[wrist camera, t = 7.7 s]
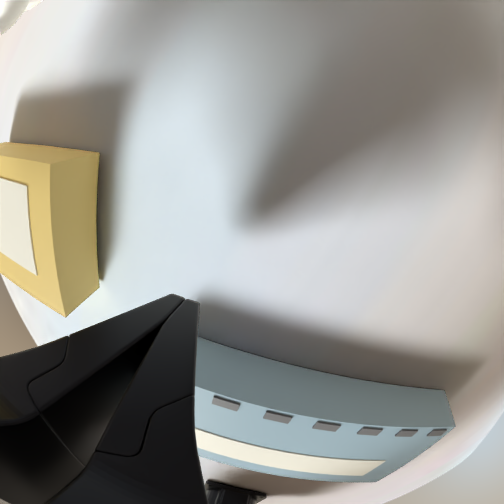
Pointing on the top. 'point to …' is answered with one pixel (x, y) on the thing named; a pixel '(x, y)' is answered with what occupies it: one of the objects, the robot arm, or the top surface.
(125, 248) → the top surface
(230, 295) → the top surface
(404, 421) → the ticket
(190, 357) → the robot arm
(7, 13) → the mug
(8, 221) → the yellow box
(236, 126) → the top surface
